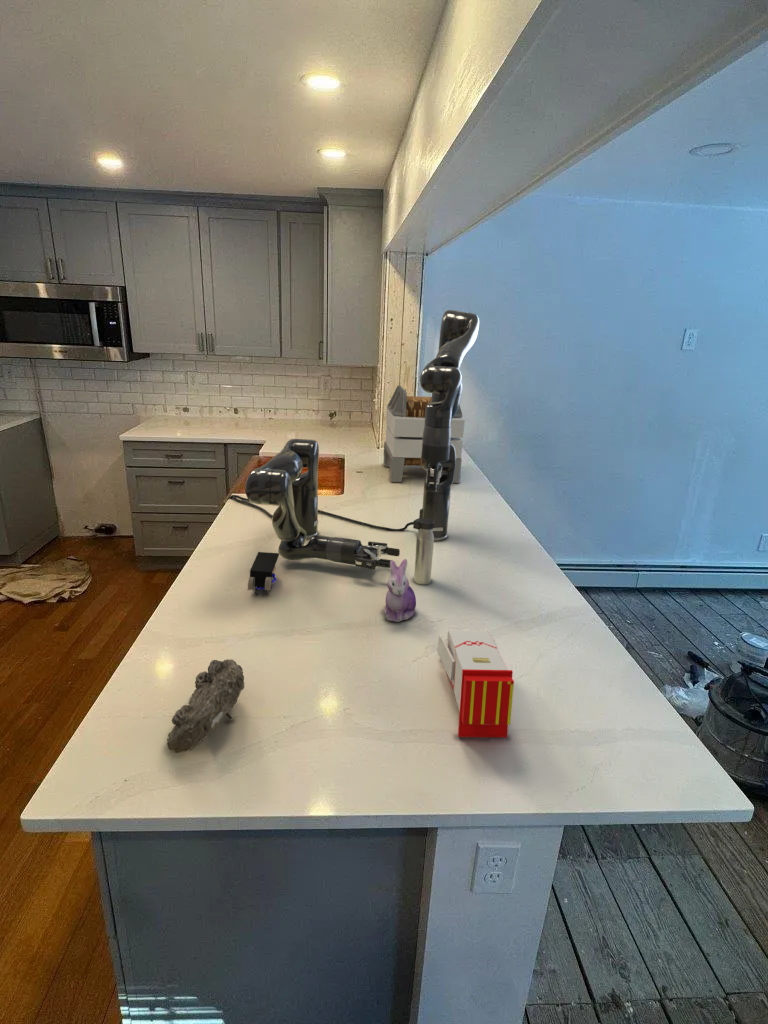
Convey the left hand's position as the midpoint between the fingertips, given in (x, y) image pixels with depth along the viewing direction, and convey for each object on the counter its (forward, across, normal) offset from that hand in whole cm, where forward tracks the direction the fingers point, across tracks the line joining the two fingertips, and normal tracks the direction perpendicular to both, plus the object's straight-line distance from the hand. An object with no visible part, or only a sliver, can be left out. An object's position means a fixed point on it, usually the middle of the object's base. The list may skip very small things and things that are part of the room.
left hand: (395, 558), depth 166 cm
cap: (+8, 0, -12) cm, 15 cm away
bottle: (+8, 0, +6) cm, 10 cm away
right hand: (+9, +1, -19) cm, 21 cm away
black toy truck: (-33, -18, +6) cm, 38 cm away
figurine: (+6, -21, +6) cm, 22 cm away
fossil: (-18, -70, +6) cm, 73 cm away
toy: (+28, -47, +6) cm, 55 cm away
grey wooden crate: (-16, +113, +6) cm, 115 cm away
